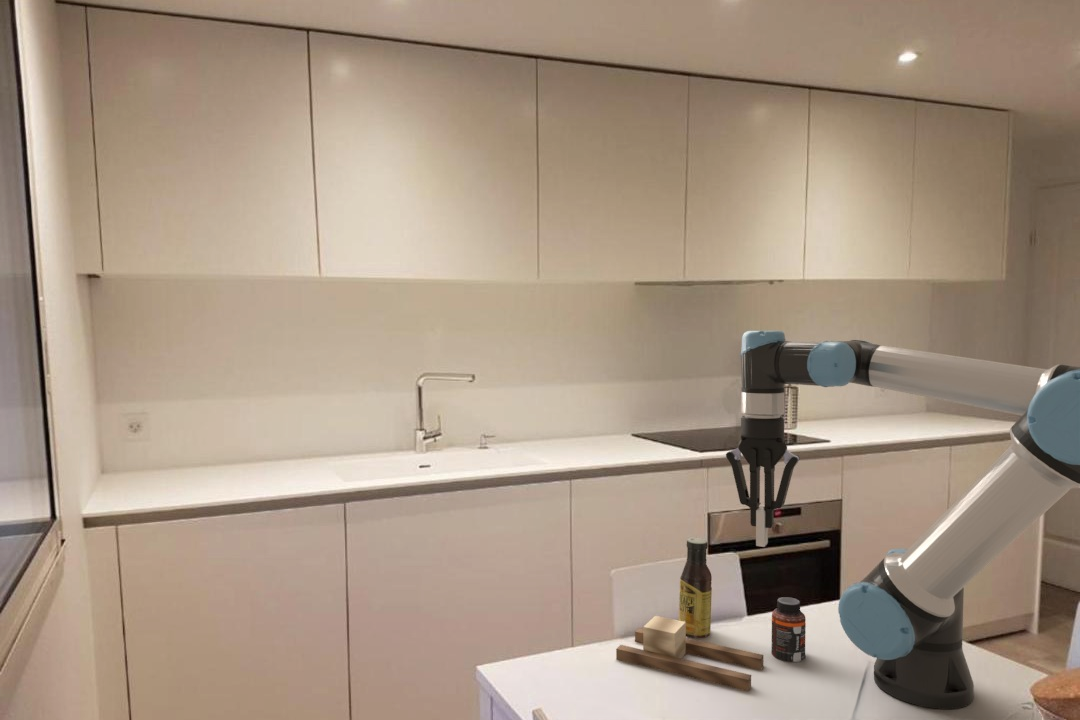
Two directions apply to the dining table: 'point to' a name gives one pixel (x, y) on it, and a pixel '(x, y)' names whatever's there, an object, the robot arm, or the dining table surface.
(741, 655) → the walnut chute
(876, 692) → the dining table surface
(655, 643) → the block
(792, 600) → the supplement bottle
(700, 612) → the sauce bottle
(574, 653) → the dining table surface
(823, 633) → the dining table surface
